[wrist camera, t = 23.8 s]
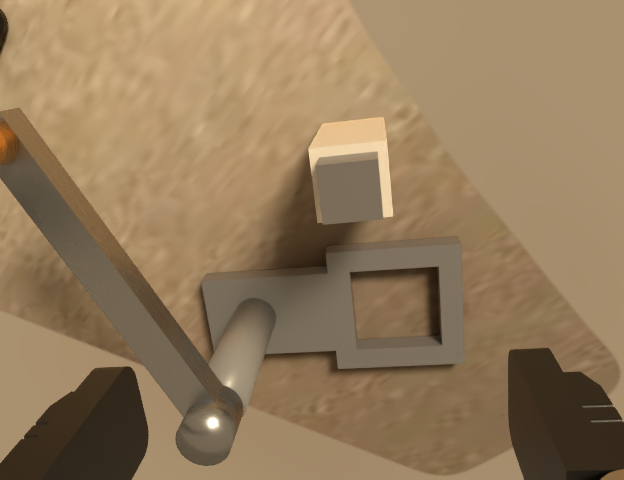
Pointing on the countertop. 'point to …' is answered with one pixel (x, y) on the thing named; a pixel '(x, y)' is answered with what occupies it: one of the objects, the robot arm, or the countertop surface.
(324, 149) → the plug
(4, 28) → the battery charger
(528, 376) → the robot arm
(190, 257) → the countertop surface
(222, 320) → the dock
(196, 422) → the long flat grey beam
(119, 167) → the countertop surface
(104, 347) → the countertop surface
